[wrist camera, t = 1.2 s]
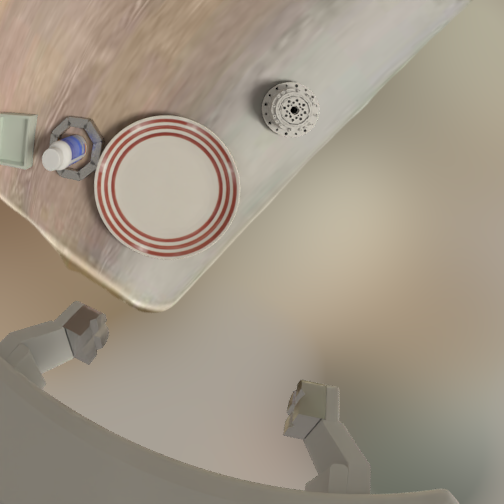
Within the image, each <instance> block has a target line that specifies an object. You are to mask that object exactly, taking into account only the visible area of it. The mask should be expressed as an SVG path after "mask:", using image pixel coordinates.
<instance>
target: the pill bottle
mask: <svg viewBox="0 0 504 504" xmlns="http://www.w3.org/2000/svg"><path fill="white" fill-rule="evenodd" d="M86 151H87V144H86V141H85V139H84V138H83V137H82V136H80V135H72V136H69V137H66V138H64V139H61V140H58V141H56V142H54V143H52V144H51V145H50V147H49V148H48V149H47V150H46V151H45V152H44V153H43V156H42V163H43V166H44V167H45V169H47V170H48V171H54V170H63V169H65V168H67V167H69V166H70V165H72V164H74V163H76V162H78V161H79V160H81V159H82V158H83V157H84V156H85V154H86Z"/></svg>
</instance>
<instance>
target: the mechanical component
mask: <svg viewBox="0 0 504 504" xmlns="http://www.w3.org/2000/svg"><path fill="white" fill-rule="evenodd" d="M286 85H287V86H286ZM295 85H297V87H295ZM276 88H277V89H278V90H276ZM304 89H305V90H304ZM269 94H270V96H269ZM311 96H312V97H313V98H312V97H311ZM288 100H289V103H288ZM292 102H293V104H292ZM264 103H267V105H266V106H265V105H264ZM298 103H299V105H298ZM302 104H303V105H302ZM287 105H288V106H287ZM283 107H284V108H285V109H283ZM291 107H296V108H295V109H294V112H293V113H291V111H290V110H291ZM296 109H297V112H296V113H295V110H296ZM286 111H287V112H286ZM319 112H320V110H319V103H318V100H317V98H316V96H315V95H314V93H313V92H312V91H311V90H310V89H309V88H307V87H306V86H304V85H302V84H300V83H295V82H285V83H281V84H278V85H276V86H274V87H273V88H272V89H270V90H269V91H268V93H267V94H266V95H265V97H264V99H263V102H262V115H263V118H264V121H265V123H266V124H267V125H268V127H269V128H270V129H271V130H272V131H274V132H275V133H277V134H279V135H282V136H285V137H298V136H302V135H304V134H306V133H308V132H309V131H310V130H311V129H312V128H313V127H314V126H315V124H316V123H317V120H318V118H319ZM265 113H266V115H265ZM285 114H286V117H285ZM289 116H290V117H289ZM295 117H296V118H295ZM299 119H300V120H299ZM268 122H271V123H270V124H268ZM289 123H291V124H289ZM276 129H277V130H276ZM303 130H305V131H303ZM285 132H287V134H285ZM295 133H296V134H295Z"/></svg>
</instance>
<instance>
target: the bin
mask: <svg viewBox="0 0 504 504" xmlns="http://www.w3.org/2000/svg"><path fill="white" fill-rule="evenodd" d="M37 116H38V115H35V114H23V113H8V112H3V113H0V165H5V166H10V167H15V168H20V169H25V170H26V169H28V168H30V167H32V162H33V149H34V139H35V130H36V123H37Z"/></svg>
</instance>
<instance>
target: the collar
mask: <svg viewBox="0 0 504 504" xmlns="http://www.w3.org/2000/svg"><path fill="white" fill-rule="evenodd" d="M71 126H72V127H78V128H84V129H85V130H86V132H87V134H88V135H89V137H90V139H91V140H92V142H93V148H92V155H91V162H89V163H88V164H87V165H86V166H85V167H83V168H82V169H81V170H78V169H73V168H68V167H67V168H65V169H63V170H56V171H57V172H58V174H59V175H61V177H64V178H68V179H73V180H78V181H80V180H83V179H84V178H85V177H87V176H88V175H89V174H90V173H92V172H93V171H94V170H95V169H96V168H97V164H98V161H99V159H100V157H101V154H102V152H103V147H104V141H102V140H104V138H103V136H102V135H101V133H100V131H99V130H98V128H97V126H96V125H95V123H94V121H93V120H91V119H89V118H82V117H75V116H70V117H67V118H66V119H65V120H64V121H63V122H62V123H61V124H59V125H58V126H57V127H56V128H55V129H54V130H53V131H52V134H51V138H50V145H51V144H52V143H54V142H56V141H58V140H60V137H61V135H62V134H63V133H65V132H66V131H67V130H68V129H69V128H70V127H71ZM49 147H50V146H49Z"/></svg>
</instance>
